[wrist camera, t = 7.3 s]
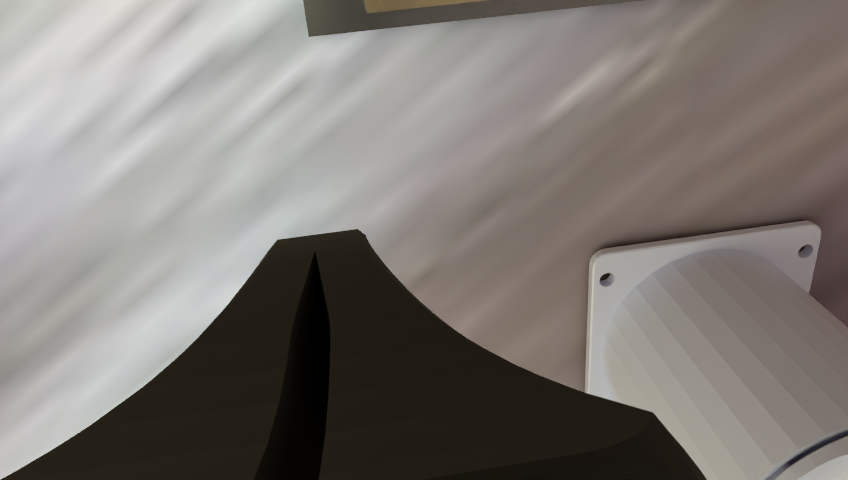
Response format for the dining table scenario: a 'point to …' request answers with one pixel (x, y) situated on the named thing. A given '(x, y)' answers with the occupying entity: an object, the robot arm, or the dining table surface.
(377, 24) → the bolt plate
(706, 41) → the dining table surface
